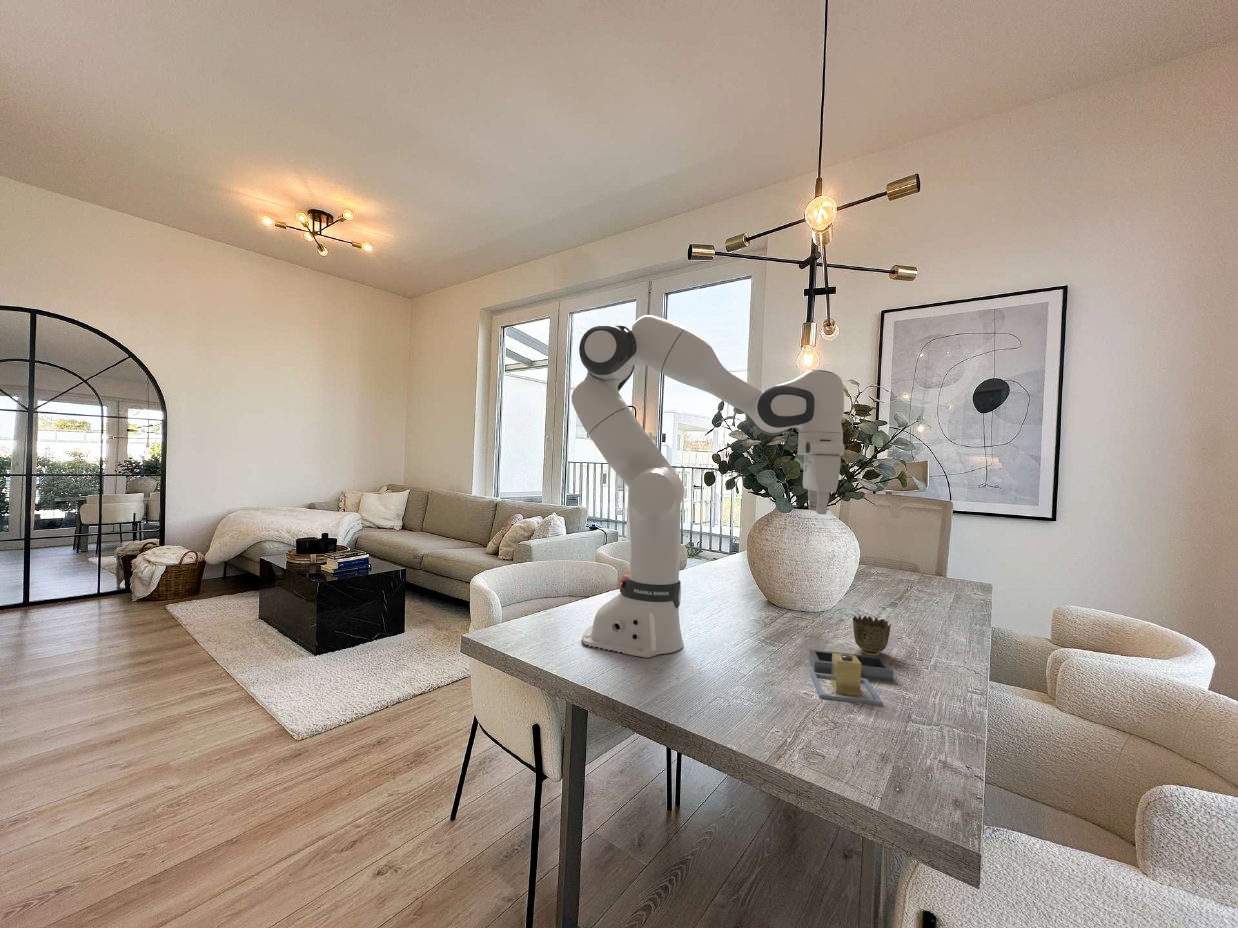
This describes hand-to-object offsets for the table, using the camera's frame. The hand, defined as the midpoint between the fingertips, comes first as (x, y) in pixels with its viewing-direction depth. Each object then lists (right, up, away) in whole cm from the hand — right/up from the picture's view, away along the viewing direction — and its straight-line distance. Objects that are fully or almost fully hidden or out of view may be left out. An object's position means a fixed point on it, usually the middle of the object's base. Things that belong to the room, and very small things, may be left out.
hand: (817, 512), depth 109 cm
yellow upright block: (-2, -31, -17) cm, 35 cm away
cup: (+12, -32, +2) cm, 34 cm away
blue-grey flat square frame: (-2, -31, -17) cm, 36 cm away
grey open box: (+3, -31, -8) cm, 32 cm away
